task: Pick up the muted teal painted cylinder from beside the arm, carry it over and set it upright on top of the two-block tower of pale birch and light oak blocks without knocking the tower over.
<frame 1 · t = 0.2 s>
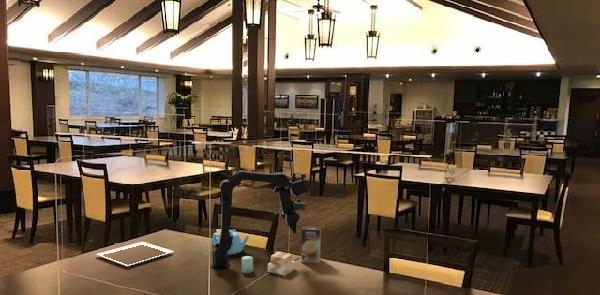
hand: (292, 230, 212), 15 cm above the table, tool pointing down, fingers open, 9 cm apart
coffee box: (310, 261, 215), on the table
birch base block: (281, 271, 202), on the table, touching oak top block
teapot: (230, 251, 228), on the table
teal cylinder: (247, 271, 201), on the table
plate: (135, 256, 219), on the table
oak top block: (281, 262, 202), point 4 cm above the table, touching birch base block
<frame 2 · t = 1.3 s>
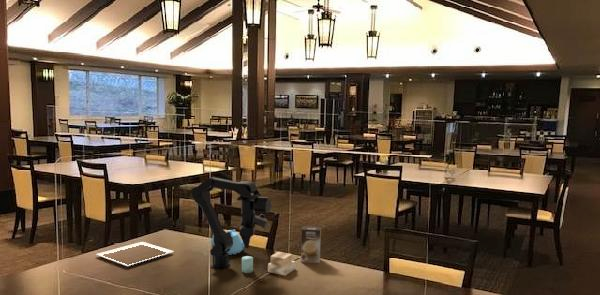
hand: (247, 244, 200), 12 cm above the table, tool pointing down, fingers open, 9 cm apart
nothing on the table moved.
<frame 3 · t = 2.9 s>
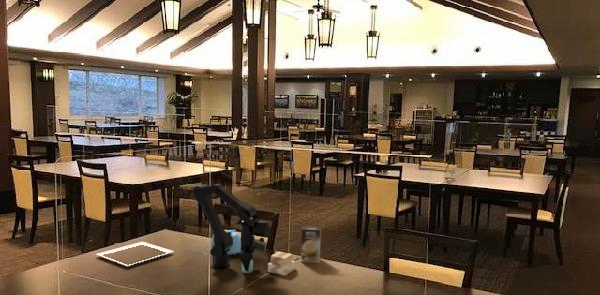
hand: (247, 268, 201), 1 cm above the table, tool pointing down, fingers closed on teal cylinder, 5 cm apart
birch base block: (281, 271, 202), on the table
teal cylinder: (247, 271, 201), on the table, touching gripper
oak top block: (281, 262, 202), point 4 cm above the table
everything else where it was.
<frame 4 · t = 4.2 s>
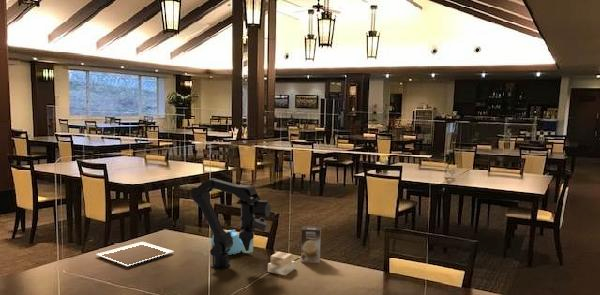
hand: (247, 248, 200), 10 cm above the table, tool pointing down, fingers closed on teal cylinder, 5 cm apart
teal cylinder: (247, 251, 200), point 9 cm above the table, touching gripper
everything else where it was.
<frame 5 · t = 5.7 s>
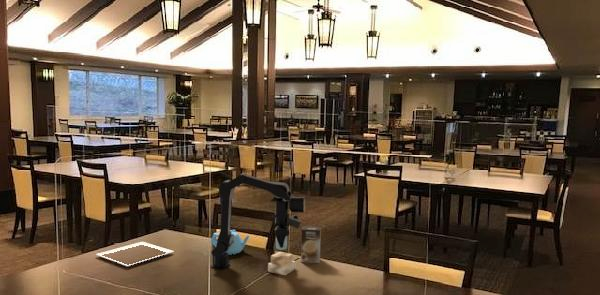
hand: (281, 245, 201), 11 cm above the table, tool pointing down, fingers closed on teal cylinder, 5 cm apart
birch base block: (281, 271, 202), on the table, touching oak top block
teal cylinder: (281, 247, 201), point 10 cm above the table, touching gripper
oak top block: (281, 262, 202), point 4 cm above the table, touching birch base block
everything else where it was.
when the fingers open (9 cm above the table, at t = 6.4 s): teal cylinder drops 1 cm, resting on oak top block.
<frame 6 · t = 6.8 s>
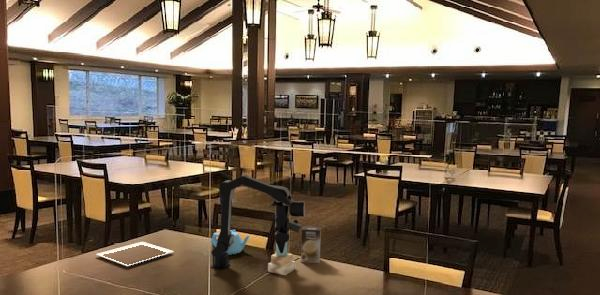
hand: (281, 249, 201), 9 cm above the table, tool pointing down, fingers open, 9 cm apart
teal cylinder: (281, 255, 201), point 7 cm above the table, touching oak top block
oak top block: (281, 262, 202), point 4 cm above the table, touching birch base block, teal cylinder
everything else where it was.
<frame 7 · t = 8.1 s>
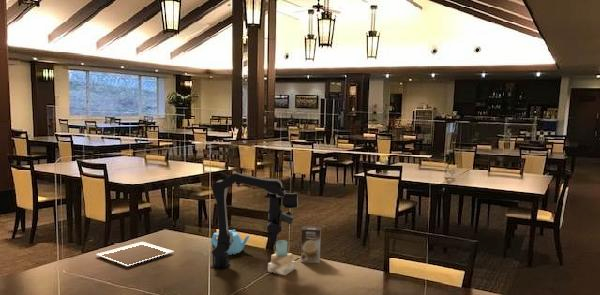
hand: (274, 241, 204), 13 cm above the table, tool pointing down, fingers open, 9 cm apart
nothing on the table moved.
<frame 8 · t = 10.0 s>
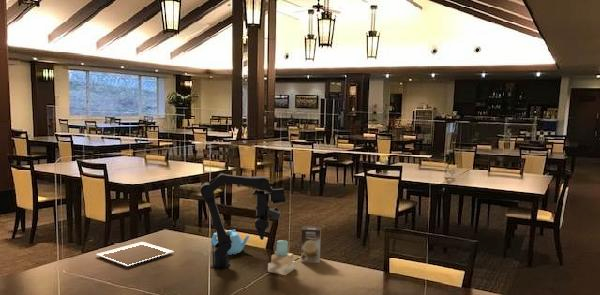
hand: (262, 236, 209), 13 cm above the table, tool pointing down, fingers open, 9 cm apart
nothing on the table moved.
at the end: teal cylinder 0.3 cm off-centre on the oak top block, point 3.5 cm above the oak top block's base; oak top block 0.4 cm off-centre on the birch base block, point 4.0 cm above the birch base block's base; teal cylinder tilted 0° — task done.
